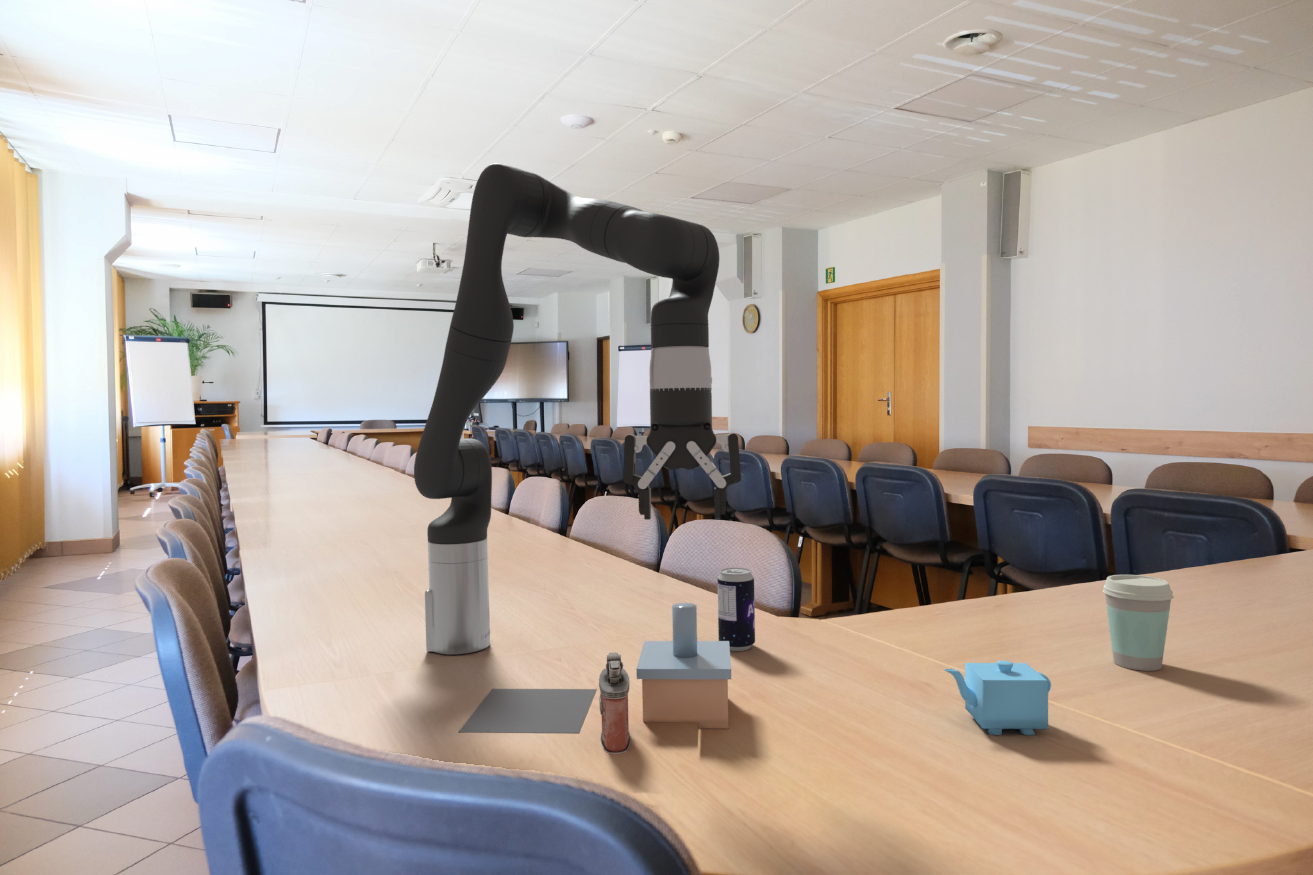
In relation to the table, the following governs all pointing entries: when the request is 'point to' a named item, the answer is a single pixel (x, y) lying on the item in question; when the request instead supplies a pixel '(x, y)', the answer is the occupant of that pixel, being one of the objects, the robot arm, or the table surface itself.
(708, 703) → the tan open box
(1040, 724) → the teapot
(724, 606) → the beverage can
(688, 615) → the lid
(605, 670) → the lighter
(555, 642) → the table surface
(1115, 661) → the coffee cup
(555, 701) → the mat
